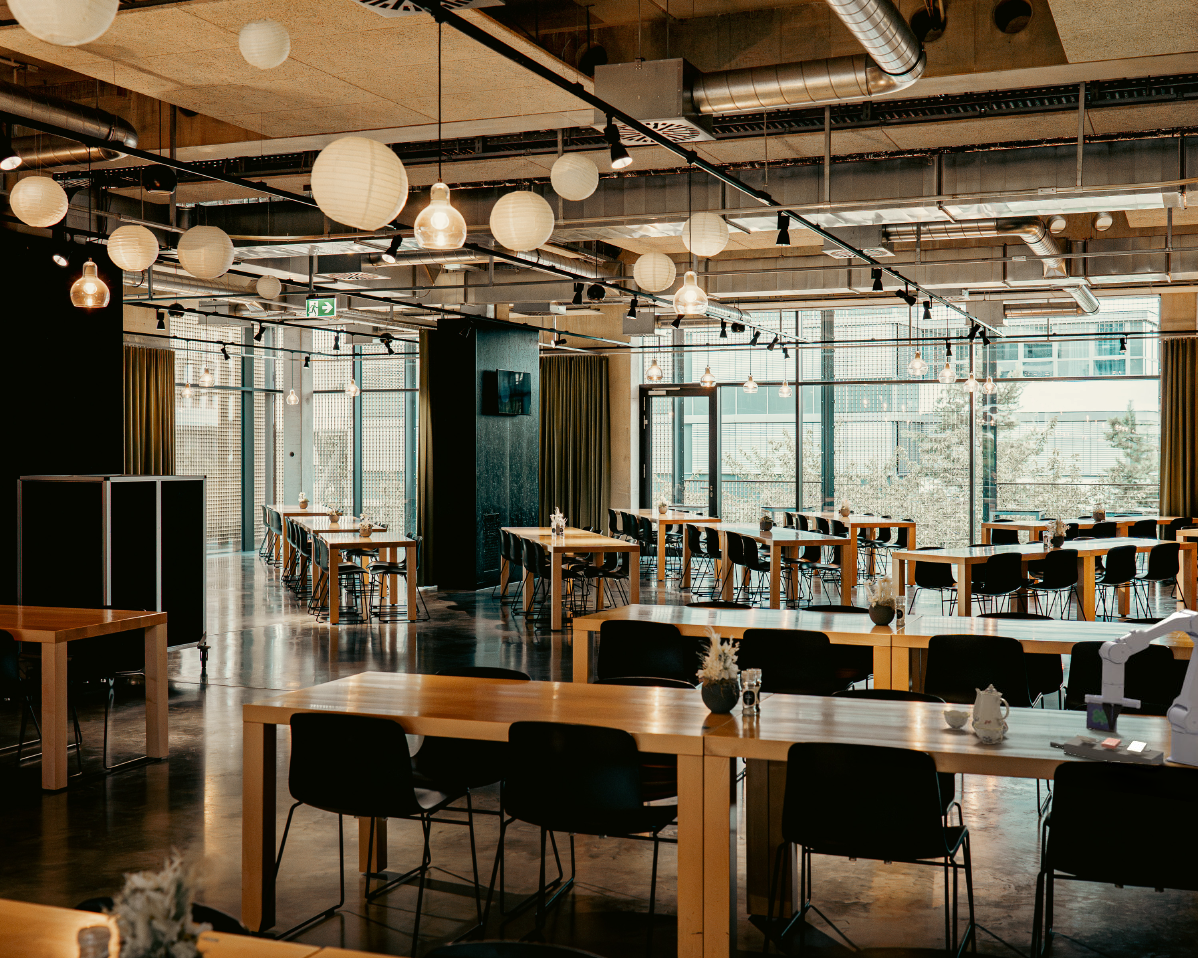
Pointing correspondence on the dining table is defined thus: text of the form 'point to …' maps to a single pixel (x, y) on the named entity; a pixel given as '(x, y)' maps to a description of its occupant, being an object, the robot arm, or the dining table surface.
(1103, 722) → the dark blue box
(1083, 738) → the rocker
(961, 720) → the chinaware
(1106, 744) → the rocker middle
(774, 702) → the dining table surface
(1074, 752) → the power strip
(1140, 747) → the rocker
